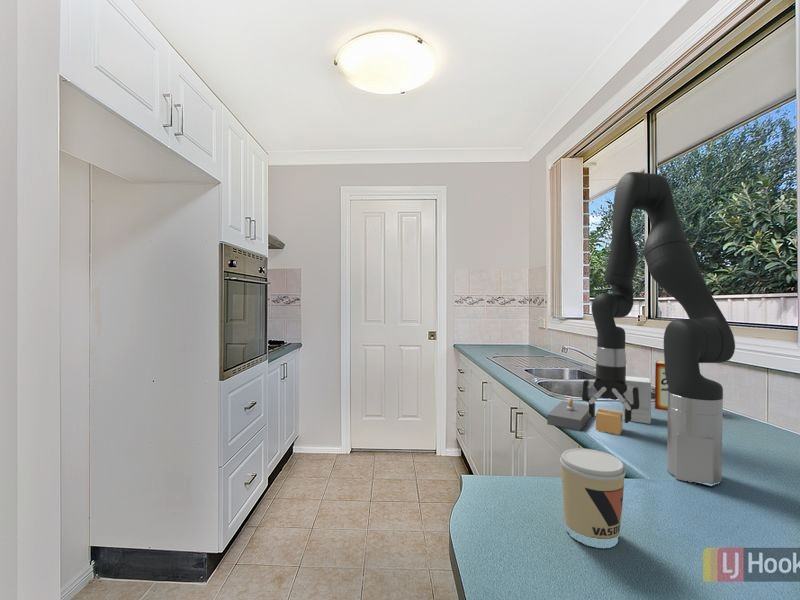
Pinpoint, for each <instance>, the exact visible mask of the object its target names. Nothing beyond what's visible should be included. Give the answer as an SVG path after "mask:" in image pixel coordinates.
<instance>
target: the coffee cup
mask: <svg viewBox="0 0 800 600" xmlns="http://www.w3.org/2000/svg"><path fill="white" fill-rule="evenodd" d="M559 460H560V467H561V468H560V470H561V487H562V488H561V489H562V491H561V492H562V503H563V520H564V525H565V524H566V525H567V526H568V527H569V528H570V529H571V530H573V531H575V532H576V533H579V534H581V535H584V536H586V537H590V538H597V539H611V538H615V537H617V536H618V535H619V534H620V533H621V523H622V513H623V499H624V489H625V477H626V475H627V474H626V473H627V472H626V471H627V470H626V466H625V465H624V463H623V462H622V461H621V459H619V458H617V457H616V456H614V455H612V454H610V453H607V452H605V451H601V450H597V449H592V448H577V447H575V448H570V449H566V450H565V451H563V452H562V454H561V456H560V458H559ZM620 535H621V534H620ZM620 535H619V536H620Z"/></svg>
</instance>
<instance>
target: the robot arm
mask: <svg viewBox="0 0 800 600" xmlns="http://www.w3.org/2000/svg"><path fill="white" fill-rule="evenodd" d="M613 196H614V197H613V198H614V199H613V209H612V211H613V212H612V225H611V242H610V249H609V255H608V259H607V263H606V267H605V272H604V273H605V274H604V282H605V283H606V284H607V285H610V286H611V287H612V291H611V292H612V293H610V292H608V293H599V294H597V295H596V296H595V297H594V298H593V300H592V302H591V303H592V304H591V314H592V318H593V322H594V325H595V330H596V332H597V340H596V343H597V344H596V345H597V346H596V353H595V380H594V381H593V380H592V381H591V380H589V379H587V378H586V379H585V380H584V381H582V382H583V384H582V396H581V399H582V401H583V402H585V403H588V405H589V414H591V417H590V418H595V417H596V401H597V400H598V399H599V398H600V397H602V398H603V399H611V400H613V401H616V400H619V402H620V403H621V404H622V406H623V405H624V406H625V408H626V409H625V420H624V423H625V424H629V422H632V421H631V411H632V410H633V409H638V408H639V406H640V405H639V388H638V386H634V387H632V386H627V385H626V376H627V375H626V374H627V370H626V369H627V354H626V353H627V352H626V330H625V329H624V328H623V327H621V326H617V325H616V322H615V319H620V318H625V317H627V316H628V315H629V314H630V313H631V311H632V309H633V307H634V283H633V280H634V276H635V273H636V268H637V265H638V261H639V251H638V247H637V243H636V240H635V238H634V234H633V230H632V215H633V212H634V210H640V211H645V213H646V215H647V216H648V218H649V222H650V231H649V234H648V235H647V237H646V240H645V244H644V246H643V257H644V260H645V262H646V265H647V269H648V272H649V273H650V276H651V277H652V279H653V280H654V281H655V282H656V283H657V285H659V286H660V287H661V288H662V289H663V290H664V291H666V293H668V295H670V296H671V297H673V299H675V300H676V301H677V302H678V303H679V304H680V305H681V307H682V308H683V310H684V312H685V313H686V315H687V317H688V318H682V319H674V320H671V321H670V322H669V323H668V324H667V326H666V328H665V330H664V335H663V357H664V360H663V361H665V376H666V380H667V383H668V411H667V431H666V432H667V438H666V439H667V442H666V443H667V445H666V446H667V448H666V450H667V452H666V453H667V457H666V460H667V462H666V463H667V464H666V465H667V467H666V468H667V470H666V471H667V472H668V473H669V474H671V475H672V476H674V478H675V479H676V480H679V481H684V482H687V481H688V483H692V482H701V483H709V484H714V483H718V482H721V481H722V482H723V415H724V414H723V409H724V408H723V407H724V404H723V403H724V401H723V400H724V388H723V385H722V384H721V383H719V382H717V381H715V380H712V379H710V378H706V377H705V376H703V375H702V373H701V369H700V364H718V363H720V364H722V363H726V362H728V361H730V360H731V359H732V357H733V356H734V354H735V350H736V349H735V348H736V340H735V336H734V333H733V330H732V329H731V326H730V325H729V322H728V321H727V319H726V317H725V316H724V314H723V313H722V311H721V309H720V307H719V305H718V304H717V302H716V300H715V298H714V297H713V295H712V292H711V291H710V289H709V287H708V285H707V283H706V280H705V279H704V276H703V274H702V271H701V270H700V267H699V264H698V261H697V259H696V256H695V254H694V252H693V249H692V247H691V244H690V242H689V240H688V239H687V236H686V234H685V231H684V229H683V226H682V223H681V220H680V218H679V215H678V212H677V209H676V205H675V201H674V197H673V192H672V189H671V186H670V183H669V182H668V179H667V178H666V177H664V176H663V175H661V174H657V173H649V172H639V171H630V172H627V173H625V174H624V175H623V176H621V178H620V179H619V180H618V182H617V184H616V188H615V191H614V195H613ZM592 386H593V387H594V388H595V390H596V391H597V392H595V394H594V395H593V396H592V397H590V396H589V392H590V391H589V389H591V388H592ZM627 390H629V391H630V394H632V395H633V404H630V402H629V401H628V400H627V398H626V397H625V395H624V393H625V392H626V391H627ZM722 482H721V483H722Z"/></svg>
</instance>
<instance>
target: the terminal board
mask: <svg viewBox="0 0 800 600" xmlns="http://www.w3.org/2000/svg"><path fill="white" fill-rule="evenodd" d="M567 400H568V401H564V400H562V401H561V402H559V403H558V404H557V405H556V406H554V408H552V409H551V410H550V411H549V412H548V413H547V415H546V416H547V418H546V419H547V422H546V424H547V425H548V426H553V427H558V428H559V427H560V428H563V429H564V428H565V429H569V430H574V431H579V432H580V430H581V431H582V429H583V428H584V426H585V425H586V424H587V423H588V421H589V419H590V418H591V417H590V416H591V414H589V404H585V403H584V404H582V403H576V402H573V401H574V399H573V398H571V397H568V399H567ZM587 420H588V421H587ZM585 423H586V424H585ZM584 424H585V425H584ZM582 427H583V428H582ZM581 428H582V429H581Z"/></svg>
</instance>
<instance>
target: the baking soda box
mask: <svg viewBox="0 0 800 600" xmlns="http://www.w3.org/2000/svg"><path fill="white" fill-rule="evenodd" d="M654 371H655V377H654V378H655V380H654V381H655V383H654V384H655V387H654V409H656V410H661V411H667V412H668V383H667V380H666V376H665V361H664V360H658V359H657V360H656V362H655V370H654Z"/></svg>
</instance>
